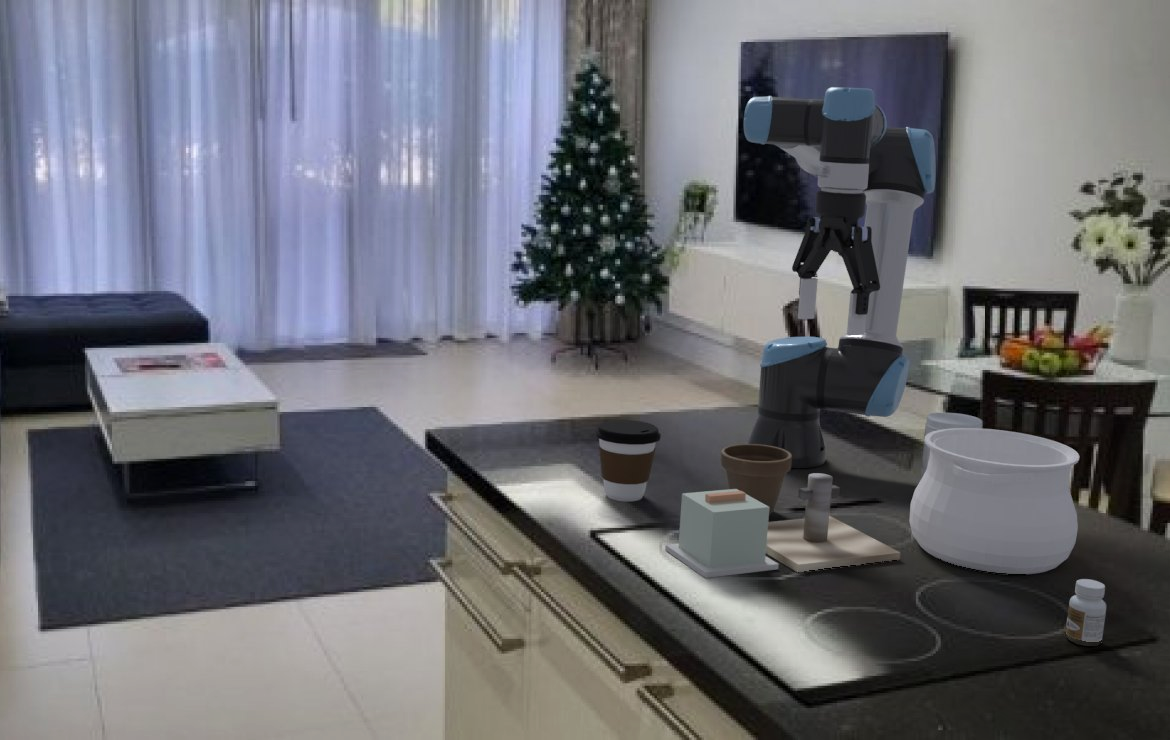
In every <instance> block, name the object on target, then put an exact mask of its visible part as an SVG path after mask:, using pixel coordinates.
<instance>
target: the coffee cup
mask: <svg viewBox="0 0 1170 740" xmlns="http://www.w3.org/2000/svg"><path fill="white" fill-rule="evenodd" d="M659 431H660V430H659V428H658V427H657V425H654V424H652V423H649V422H645V421H640V420H631V419H612V420H606V421H602V422H601V423H599V425H598V426H597V428H596V430H595V431H594V436H595V437H597V439H598V440H599V443H598V451H599V461H600V472H601V477H602V479H603V480H602V481H603V488H604V489H603V490H604V494H605V496H606V497H607V498H608V499H610V500H612V501H613V500H614V501H617V502H626V503H627V502H636V501H640V500H642V499H643V498H644V497H643V496H644V495H645V493H646V489H647V484H648V482H649V479H650V475H651V471H652V467H653V461H654V457H655V454H656V453H655V451H656V443H657V442H659V441H660V440H661V435H662V434H661V433H660V432H659Z"/></svg>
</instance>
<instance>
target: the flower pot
mask: <svg viewBox="0 0 1170 740" xmlns="http://www.w3.org/2000/svg"><path fill="white" fill-rule="evenodd" d="M791 462H792V455H791V453H790V452H788V451H786V450H784V449H781V448H778V447H773V446H768V445H759V444H746V443H742V444H741V443H739V444H733V445H728V446H725V447H723V448H722V449H721V450H720V464H721V467H722V468H723V469H724V470H725V472H726V477H727V482H728V488H729V489H738V490H739V491H743V492H745V493H746V494H747V495H749V496H750V497H752V498H754V499H756V500H758V501H759V502H761V503H763V504H765V505H767V506H769V507H770V508H769V515H771V514H772V513H773V512H774V510H775V508H776V505H777V502H778V499H779V495H780V492H781V489H782V485H783V482H784V479H785V476H786V474H788V473H789V472H790V471H791V469H792V468H791Z"/></svg>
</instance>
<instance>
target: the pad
mask: <svg viewBox="0 0 1170 740" xmlns="http://www.w3.org/2000/svg"><path fill="white" fill-rule="evenodd" d="M678 546H679V542H678V543H670V544H665V546H664V548H665V549H664V550H665V551H666V552H667V553H669V554H671V555H672V556H674V557H675V558H676V559H678V560H679V561H680V562H682V563H683V564H684V565H686V566H688V567H689V568H691V569H692V570H693V571H695V572H696V573H697V574H699V575H700V576H702V577H703V578H705V579H708V578H716V577H725V576H735V575H741V574H743V575H744V574H752V573H759V572H766V571H767V572H768V571H774V570H776V571H777V570H779V563H778V562H776V561H775V560H773V559H771V558H770V557H768V556H766V557H765V562H758V563H749V564H740V565H732V566H723V567H714V568H709V567H707V566H706V565H704V564H703V563H701V562H700V561H698V560H697V559H695V558H694V557H693V556H691V555H690V554H688V553H687V552H685V551H684V550H682V549H681V548H679V547H678Z"/></svg>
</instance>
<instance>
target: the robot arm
mask: <svg viewBox="0 0 1170 740" xmlns="http://www.w3.org/2000/svg"><path fill="white" fill-rule="evenodd" d="M883 110H884V109H882V108H881V106H879V105H878V104H877V103H875V92H874V91H873V89H871V88H866V87H865V88H864V87H863V88H862V87H861V88H860V87H841V86H840V87H838V86H837V87H836V86H831V87H829V88H827V89H826V91H825V94H824V98H823V99H821V98H797V97H783V96H782V97H780V96H778V97H777V96H772V95H768V96H753V97H752V98H750V99H749V100H748V101H747V103H746V106H745V109H744V116H743V133H744V136H745V138H746V141H748V142H750V143H752V144H753V143H755V144H760V145H765V144H766V145H767V144H768V145H774V146H776V147H778V148H779V149H781V150H782V151H784V152H786V153H788V155H790V156H792V157H793V158H795V161H796V163H797V164H798V166H799V167H800V168H801V169H802V170H803V171H805V172H807V173H808V174H810V175H812V176H813V177H815V178H817V186H818V187H819V188H820V189H821V190H818V191H817V192H816V195H815V196H816V197H815V205H814V207H815V208H814V213H815V214H816V215H818V217H817V216H815V217H814V216H813V217H808V218H807V222H806V228H805V232H804V235H803V237H802V241H801V243H800V246H799V248H798V251H797V253H796V256H795V258H794V261H793V263H792V267H791V269H792V272H795V273H797V276H798V278H799V290H798V297H799V298H798V309H797V310H798V311H797V319H799V320H813V319H815V315H816V305H817V304H816V303H817V291H818V281H819V280H818V271H819V269H820V268H821V267H822V265H823V263H824V262H825V260H826V259H827V257H828V255H829V254H830V252H831V251H832V252H835V253H838V254H837V255H839V256H840V257H841V258H842V260H843V264H844V267H845V268H846V271H847V274H848V276H849V280H850V282H851V285H852V288H853V289H852V290H851V291H850V295H849V306H848V307H849V308H848V318H847V328H846V333H844V334H843V335H841V336H840V337H839V340H838V346H837V348H836V347H835V348H834V347H827V346H828V343H827V340H826V338H824V337H816V336H791V337H782V338H776V339H773V340H770V341H768V342H767V343H766V344H765V345H764V346H763V350H762V358H761V363H760V375H759V389H758V391H759V392H758V403H757V404H758V407H757V415H756V419H755V422H754V423H753V425H752V428H751V431H750V434H749V436H748V439H747V440H746V442H745V444H759V445H768V446H773V447H778V448H781V449H784V450H786V451H788V452H790V453H791V455H792V462H791V469H808V468H809V469H810V468H815V467H819V466H822V465H824V464H825V462H826V454H827V450H826V449H827V448H826V446H825V441H824V436H823V433H822V429H821V425H820V417H821V416H820V415H821V414H820V413H821V410H824V411H826V410H827V411H832V412H839V413H840V412H841V413H847V414H854V415H863V416H865V417H871V416H872V417H882V418H886V417H890V416H892V415H893V414H894V413H896V411H897V410H898V407H899V405H900V402H901V400H902V399H903V398H902V397H903V395H904V392H905V388H906V384H907V381H908V376H909V369H910V358H909V357H908V356H907V355H905V354H903V349H904V346H903V344H902V343H901V342H900V341H899V339H898V338H897V332H898V325H899V318H900V311H901V303H902V297H903V290H904V281H905V277H906V276H905V275H906V269H907V261H908V254H909V247H910V241H911V232H912V226H913V219H914V212H915V210H916V209H918V208H920V206H922V205H923V204H924V202H925V197H926V195H929V194H932V193H934V191H935V189H936V188H935V186H936V176H937V175H936V172H937V171H936V168H937V167H936V149H935V148H936V147H935V140H934V137H933V135H932V133H931V132H930V131H928V130H927V129H922V128H914V127H913V128H912V127H910V126H906V127H902V126H901V127H899V126H898V127H897V126H895V127H894V126H887V125H888V123H887V117H886V114H885V112H884V111H883ZM864 216H865V219H864V226H859V223H858V222H859V219H860V218H863V217H864Z"/></svg>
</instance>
